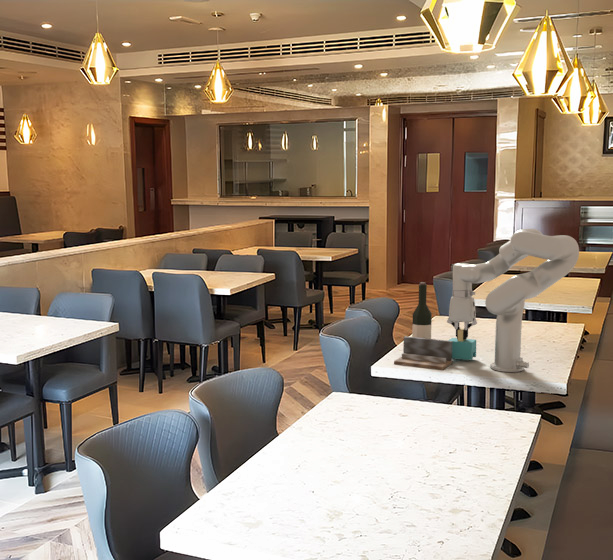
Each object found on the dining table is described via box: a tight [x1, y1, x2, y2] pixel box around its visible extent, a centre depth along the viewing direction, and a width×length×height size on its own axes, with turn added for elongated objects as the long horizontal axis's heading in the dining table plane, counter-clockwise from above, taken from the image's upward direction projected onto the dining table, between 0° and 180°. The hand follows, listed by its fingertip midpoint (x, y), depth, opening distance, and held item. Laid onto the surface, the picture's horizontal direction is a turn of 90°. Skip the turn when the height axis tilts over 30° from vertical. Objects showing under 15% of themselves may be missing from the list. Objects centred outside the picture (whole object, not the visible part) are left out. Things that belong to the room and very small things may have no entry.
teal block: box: [447, 327, 477, 361], centre depth 287 cm, size 10×7×12 cm
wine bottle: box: [411, 281, 433, 339], centre depth 299 cm, size 8×8×30 cm
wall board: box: [393, 336, 453, 371], centre depth 281 cm, size 20×12×9 cm, turn 62°
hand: (461, 338), depth 286 cm, fingers closed on teal block
